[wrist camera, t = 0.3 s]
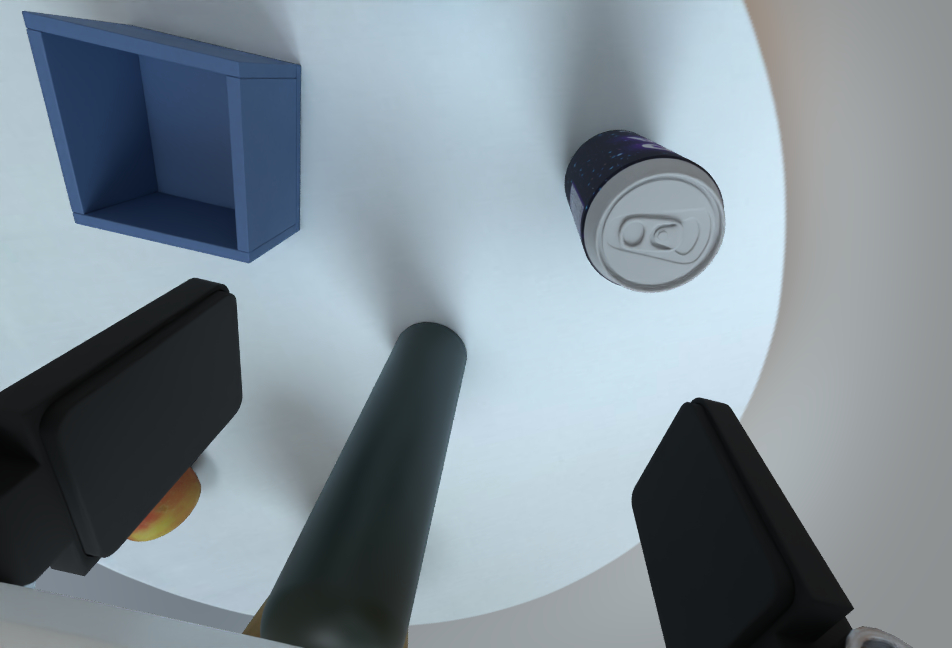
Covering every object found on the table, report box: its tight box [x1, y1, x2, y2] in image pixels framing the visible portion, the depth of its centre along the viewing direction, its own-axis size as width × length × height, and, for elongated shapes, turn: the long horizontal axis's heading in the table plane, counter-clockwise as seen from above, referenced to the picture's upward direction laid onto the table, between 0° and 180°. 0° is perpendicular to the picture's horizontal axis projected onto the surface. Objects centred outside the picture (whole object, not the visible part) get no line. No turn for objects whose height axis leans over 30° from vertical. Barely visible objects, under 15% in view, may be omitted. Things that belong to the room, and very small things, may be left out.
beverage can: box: [565, 130, 725, 293], centre depth 23 cm, size 6×6×12 cm
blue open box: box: [22, 11, 301, 263], centre depth 26 cm, size 10×10×7 cm
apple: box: [127, 467, 201, 542], centre depth 42 cm, size 8×8×8 cm
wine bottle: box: [260, 323, 467, 648], centre depth 23 cm, size 6×6×30 cm
